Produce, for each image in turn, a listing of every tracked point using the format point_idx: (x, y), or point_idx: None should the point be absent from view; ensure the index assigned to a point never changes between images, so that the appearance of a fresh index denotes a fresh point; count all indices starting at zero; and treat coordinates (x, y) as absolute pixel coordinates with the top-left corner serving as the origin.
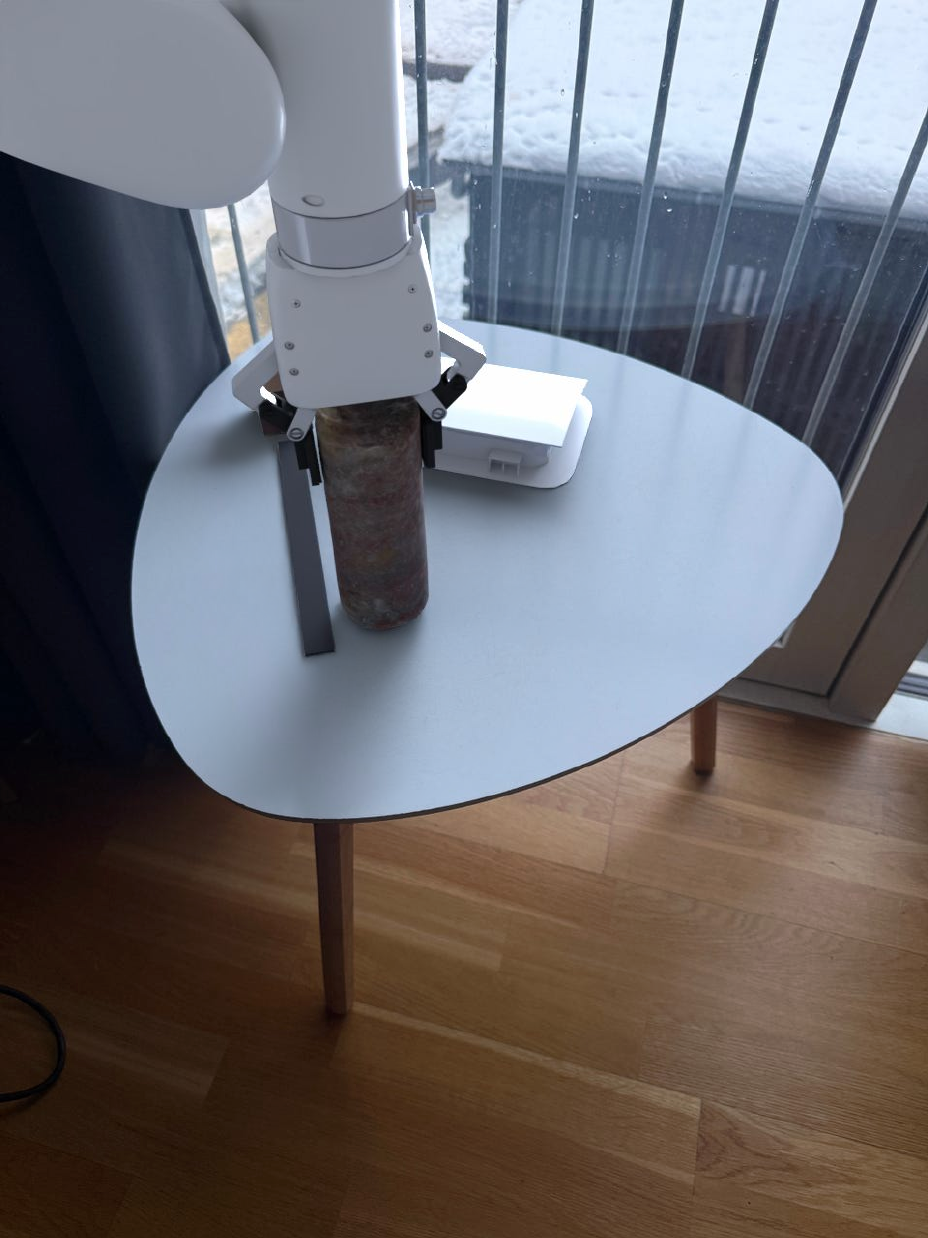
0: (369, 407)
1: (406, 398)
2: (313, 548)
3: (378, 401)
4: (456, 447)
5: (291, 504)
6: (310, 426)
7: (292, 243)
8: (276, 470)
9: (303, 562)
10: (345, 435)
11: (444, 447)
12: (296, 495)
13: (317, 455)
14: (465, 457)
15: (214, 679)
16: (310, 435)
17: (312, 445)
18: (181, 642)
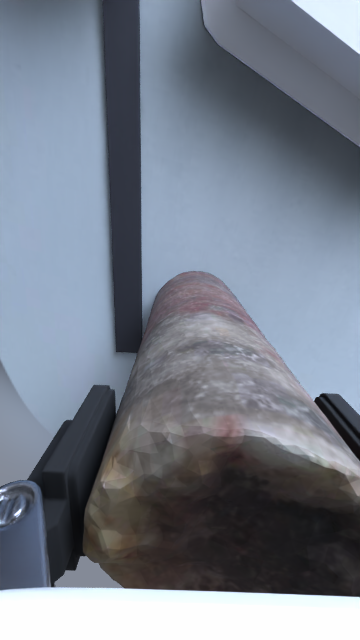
0: (250, 513)
1: None
2: (134, 221)
3: (284, 514)
4: (349, 77)
5: (115, 134)
6: (74, 514)
7: None
8: (99, 45)
9: (122, 240)
10: (162, 562)
11: (333, 68)
12: (122, 117)
13: (110, 412)
14: (350, 92)
15: (42, 354)
16: (72, 552)
17: (79, 557)
18: (9, 309)
